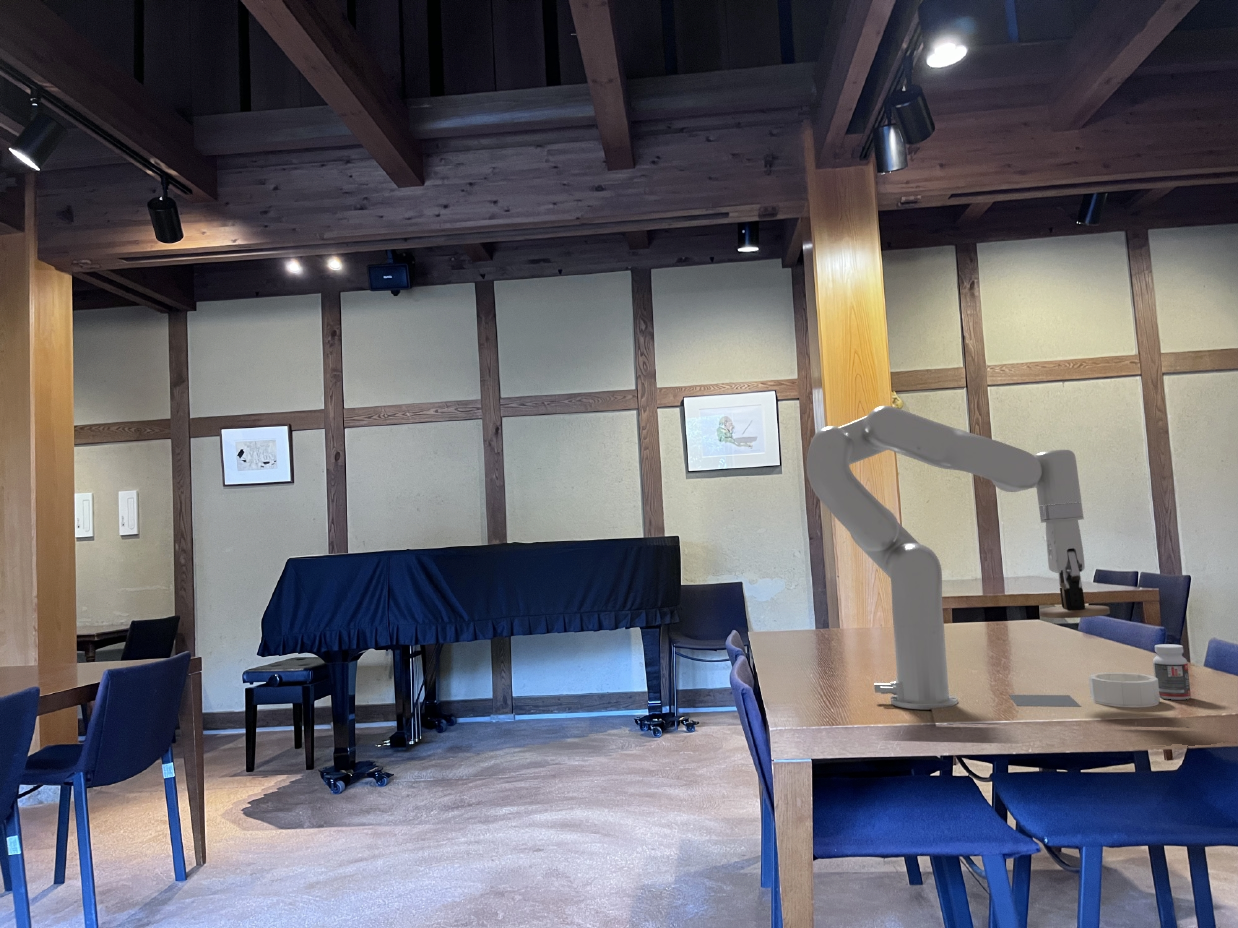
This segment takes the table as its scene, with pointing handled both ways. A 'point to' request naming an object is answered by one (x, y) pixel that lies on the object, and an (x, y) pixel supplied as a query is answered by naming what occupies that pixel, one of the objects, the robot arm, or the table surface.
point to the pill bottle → (1171, 672)
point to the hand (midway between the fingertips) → (1073, 607)
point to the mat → (1044, 700)
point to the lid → (1064, 613)
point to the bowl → (1124, 689)
